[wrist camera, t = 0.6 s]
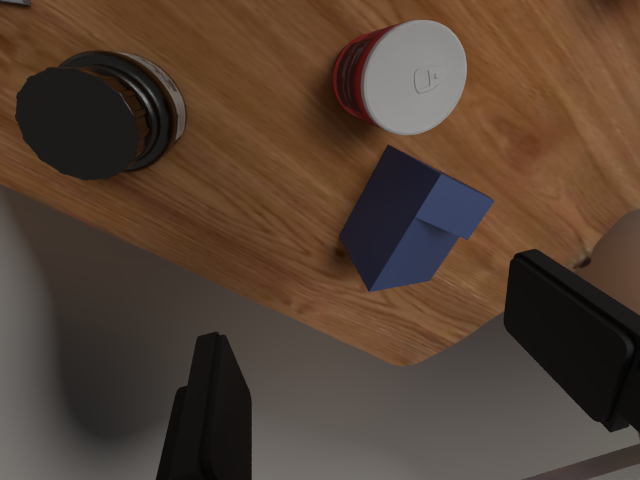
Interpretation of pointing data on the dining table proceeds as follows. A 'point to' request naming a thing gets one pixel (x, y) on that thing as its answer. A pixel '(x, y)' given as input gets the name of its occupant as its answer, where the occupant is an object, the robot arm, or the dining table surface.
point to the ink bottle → (101, 114)
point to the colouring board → (18, 1)
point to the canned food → (402, 76)
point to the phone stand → (409, 221)
